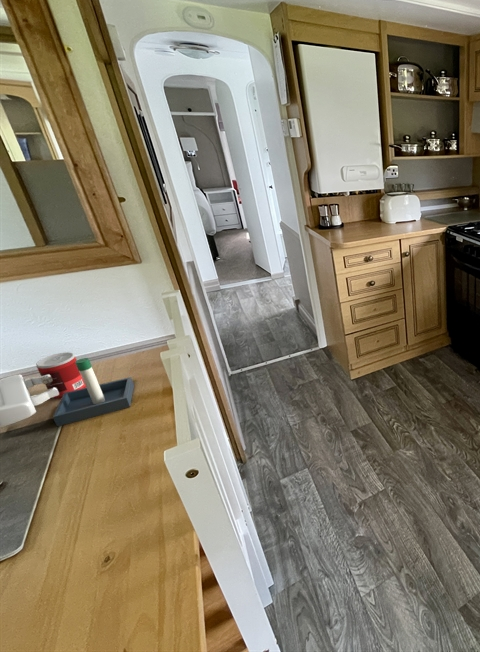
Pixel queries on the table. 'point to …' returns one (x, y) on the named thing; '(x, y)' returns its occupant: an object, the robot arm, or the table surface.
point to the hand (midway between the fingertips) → (54, 384)
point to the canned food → (61, 373)
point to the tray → (82, 407)
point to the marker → (90, 380)
